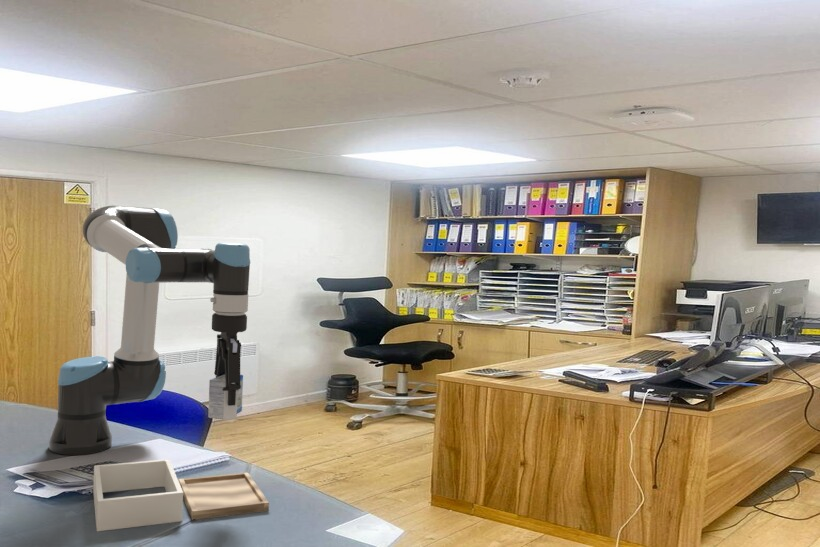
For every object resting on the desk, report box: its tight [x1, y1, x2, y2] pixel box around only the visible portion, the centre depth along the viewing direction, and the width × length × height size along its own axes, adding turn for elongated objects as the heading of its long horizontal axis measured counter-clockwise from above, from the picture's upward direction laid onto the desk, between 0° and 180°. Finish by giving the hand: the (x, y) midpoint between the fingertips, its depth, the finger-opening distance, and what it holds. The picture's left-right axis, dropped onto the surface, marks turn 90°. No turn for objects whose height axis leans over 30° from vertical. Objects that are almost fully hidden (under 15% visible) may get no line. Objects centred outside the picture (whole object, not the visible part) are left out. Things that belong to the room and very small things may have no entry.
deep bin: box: [92, 458, 184, 532], centre depth 151 cm, size 22×16×6 cm
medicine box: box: [207, 373, 244, 420], centre depth 157 cm, size 8×4×9 cm, turn 168°
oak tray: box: [178, 472, 270, 521], centre depth 158 cm, size 20×16×2 cm
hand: (225, 413), depth 157 cm, fingers closed on medicine box, 9 cm apart
